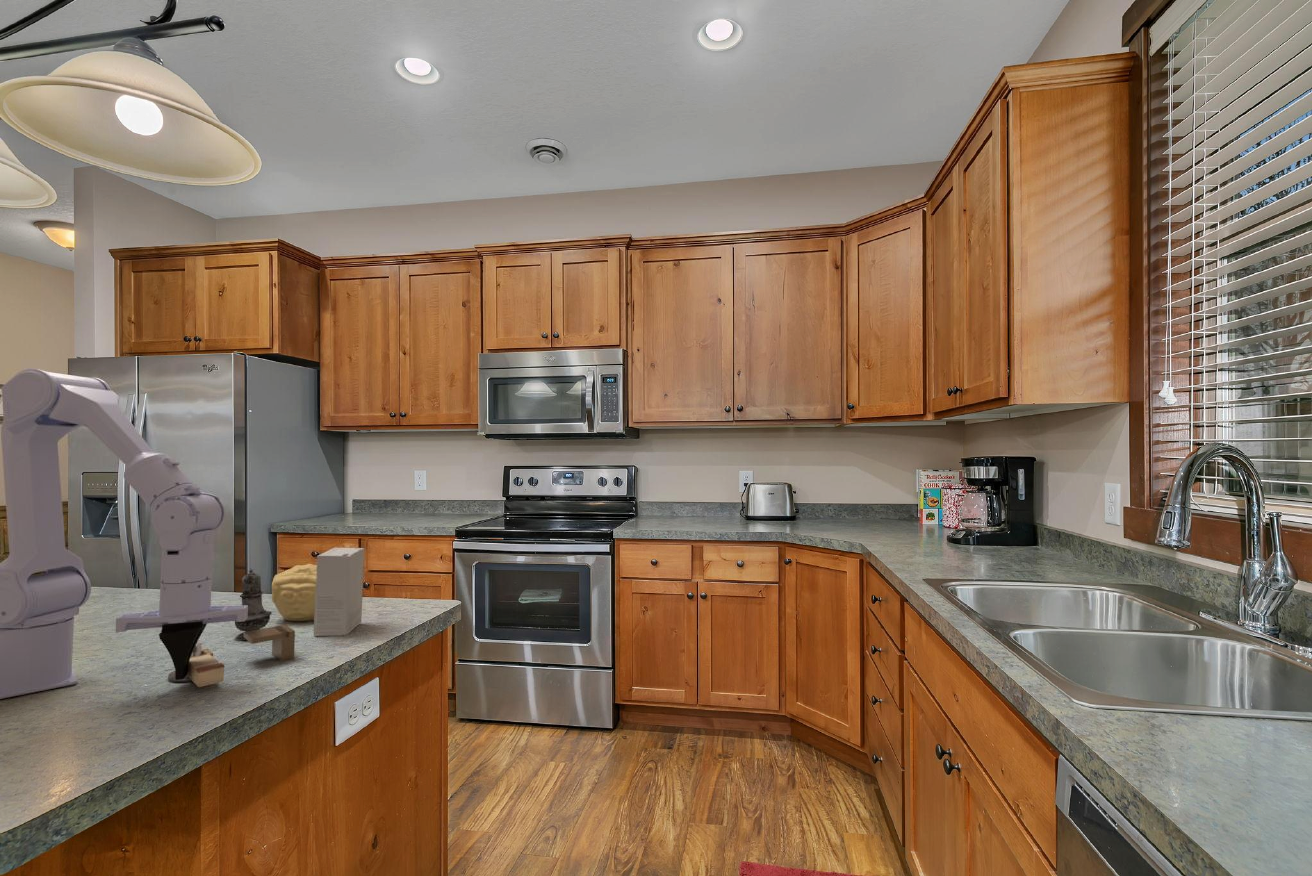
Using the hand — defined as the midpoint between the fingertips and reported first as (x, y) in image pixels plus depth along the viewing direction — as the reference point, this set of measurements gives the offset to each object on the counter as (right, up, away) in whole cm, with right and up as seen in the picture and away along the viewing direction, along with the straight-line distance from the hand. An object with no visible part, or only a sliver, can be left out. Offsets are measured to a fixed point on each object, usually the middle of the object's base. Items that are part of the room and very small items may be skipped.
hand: (182, 677), depth 82 cm
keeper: (+5, -2, +11) cm, 12 cm away
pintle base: (-1, -1, +4) cm, 5 cm away
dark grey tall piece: (-6, -2, +23) cm, 24 cm away
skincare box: (+7, -3, +27) cm, 28 cm away
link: (+1, 0, +2) cm, 2 cm away
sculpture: (-4, -3, +36) cm, 36 cm away
